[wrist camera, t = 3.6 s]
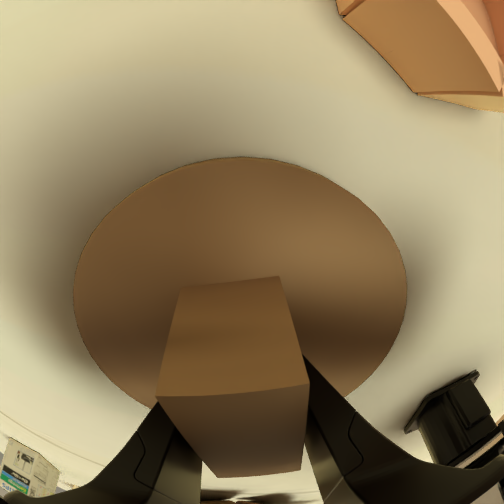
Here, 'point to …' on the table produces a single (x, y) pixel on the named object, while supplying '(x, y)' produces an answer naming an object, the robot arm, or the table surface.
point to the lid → (239, 303)
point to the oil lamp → (227, 502)
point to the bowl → (438, 45)
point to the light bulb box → (27, 471)
